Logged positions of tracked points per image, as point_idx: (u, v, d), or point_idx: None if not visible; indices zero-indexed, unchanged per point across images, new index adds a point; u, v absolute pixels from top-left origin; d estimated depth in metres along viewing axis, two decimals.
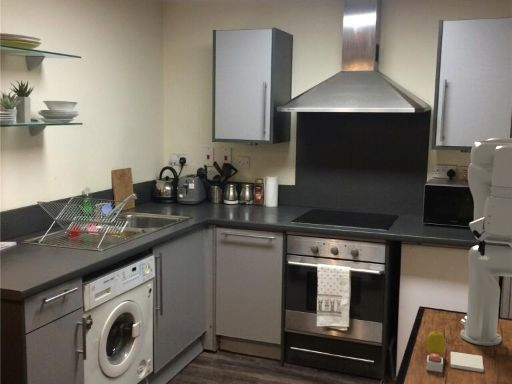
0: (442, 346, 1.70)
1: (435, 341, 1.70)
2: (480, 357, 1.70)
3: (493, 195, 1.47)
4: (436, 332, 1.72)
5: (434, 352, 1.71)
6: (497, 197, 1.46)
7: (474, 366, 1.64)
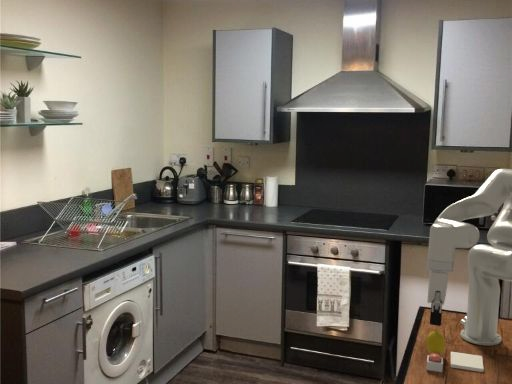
0: (442, 346, 1.70)
1: (435, 341, 1.70)
2: (480, 357, 1.70)
3: (445, 270, 1.65)
4: (436, 332, 1.72)
5: (434, 352, 1.71)
6: (449, 271, 1.66)
7: (474, 366, 1.64)
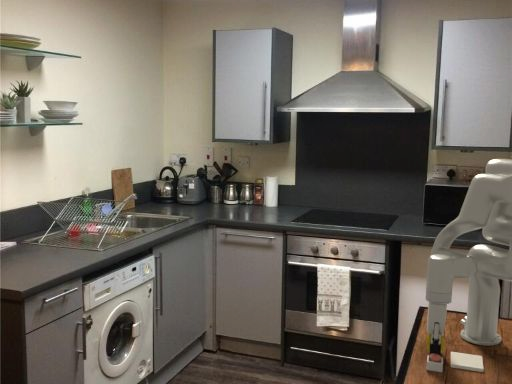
0: (442, 346, 1.70)
1: None
2: (480, 357, 1.70)
3: (443, 301, 1.67)
4: None
5: None
6: (447, 302, 1.67)
7: (474, 366, 1.64)
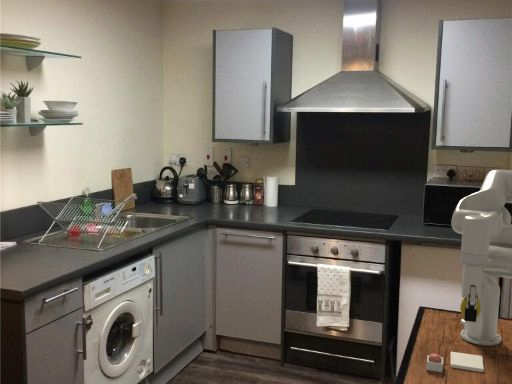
0: (478, 311, 1.63)
1: None
2: (480, 357, 1.70)
3: (480, 263, 1.60)
4: None
5: None
6: (484, 264, 1.60)
7: (474, 366, 1.64)
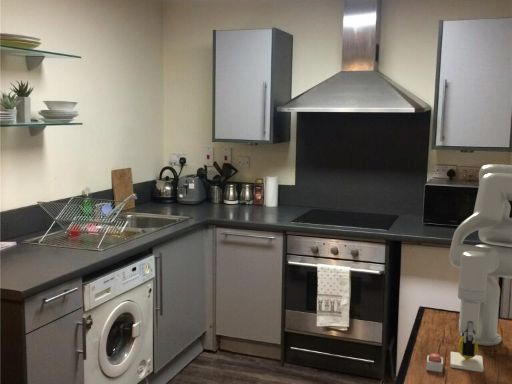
0: (475, 350, 1.65)
1: None
2: (480, 357, 1.70)
3: (477, 300, 1.61)
4: None
5: (466, 356, 1.66)
6: (481, 300, 1.62)
7: (474, 366, 1.64)
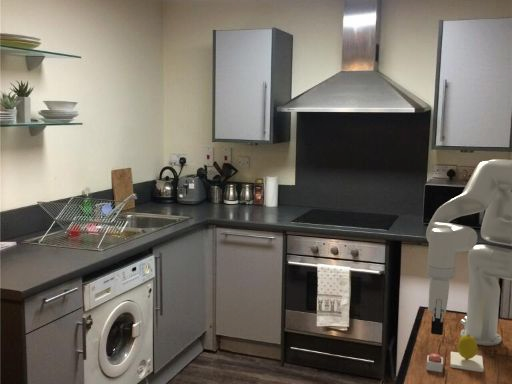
0: (474, 350, 1.65)
1: (467, 345, 1.65)
2: (480, 357, 1.70)
3: (446, 277, 1.57)
4: (468, 336, 1.67)
5: (466, 356, 1.66)
6: (450, 278, 1.57)
7: (474, 366, 1.64)
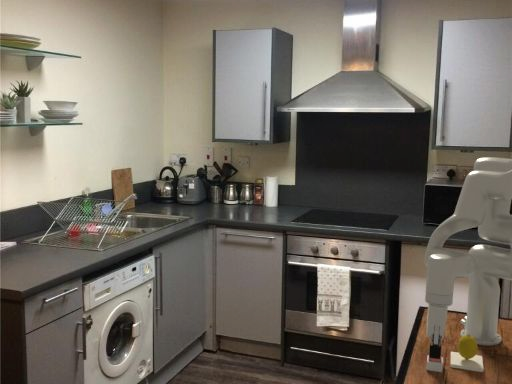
0: (474, 350, 1.65)
1: (467, 345, 1.65)
2: (480, 357, 1.70)
3: (444, 303, 1.58)
4: (468, 336, 1.67)
5: (466, 356, 1.66)
6: (448, 304, 1.58)
7: (474, 366, 1.64)
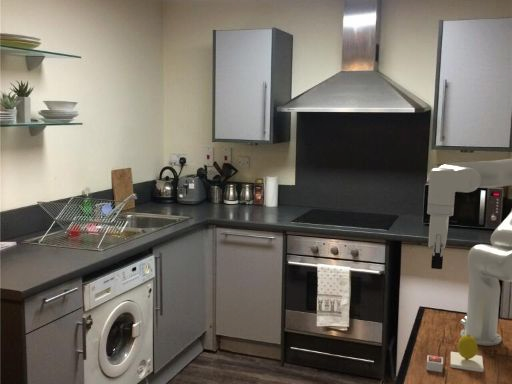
0: (474, 350, 1.65)
1: (467, 345, 1.65)
2: (480, 357, 1.70)
3: (445, 213, 1.65)
4: (468, 336, 1.67)
5: (466, 356, 1.66)
6: (449, 214, 1.66)
7: (474, 366, 1.64)
